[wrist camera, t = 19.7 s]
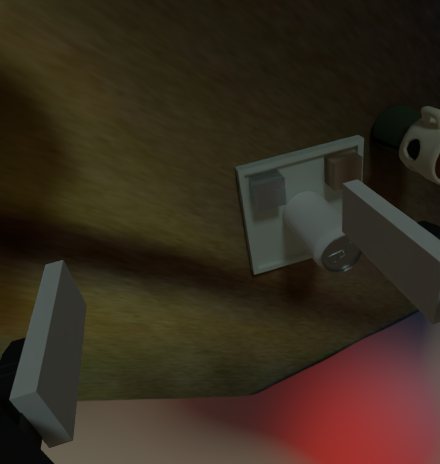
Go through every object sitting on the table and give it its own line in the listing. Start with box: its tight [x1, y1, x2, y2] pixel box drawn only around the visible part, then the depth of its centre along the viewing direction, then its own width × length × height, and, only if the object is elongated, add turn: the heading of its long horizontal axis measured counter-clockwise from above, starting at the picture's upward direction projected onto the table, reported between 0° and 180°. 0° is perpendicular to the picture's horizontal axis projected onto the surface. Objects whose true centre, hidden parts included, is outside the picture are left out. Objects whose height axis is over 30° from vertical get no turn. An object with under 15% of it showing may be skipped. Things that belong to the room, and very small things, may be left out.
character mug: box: [372, 105, 440, 185], centre depth 47 cm, size 11×7×13 cm, turn 29°
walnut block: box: [324, 150, 363, 191], centre depth 52 cm, size 4×4×3 cm
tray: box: [235, 135, 364, 275], centre depth 56 cm, size 18×18×2 cm
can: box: [284, 191, 363, 273], centre depth 51 cm, size 6×6×12 cm
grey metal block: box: [249, 169, 287, 212], centre depth 51 cm, size 4×4×3 cm
